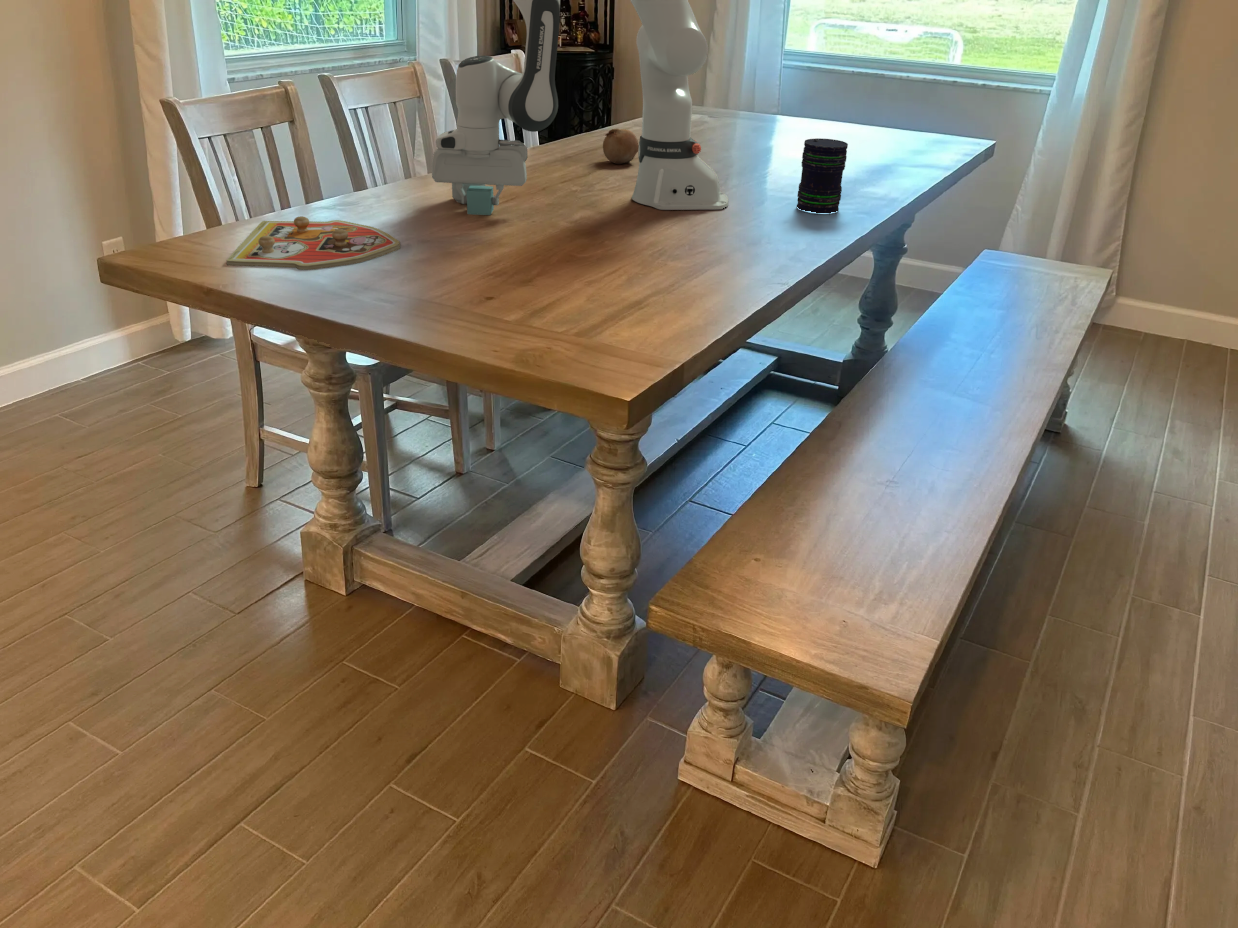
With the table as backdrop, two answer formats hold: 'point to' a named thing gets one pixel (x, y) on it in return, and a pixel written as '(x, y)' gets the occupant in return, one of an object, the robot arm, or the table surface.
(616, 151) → the onion
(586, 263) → the table surface
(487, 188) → the teal block
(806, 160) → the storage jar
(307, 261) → the knob puzzle
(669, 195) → the robot arm
